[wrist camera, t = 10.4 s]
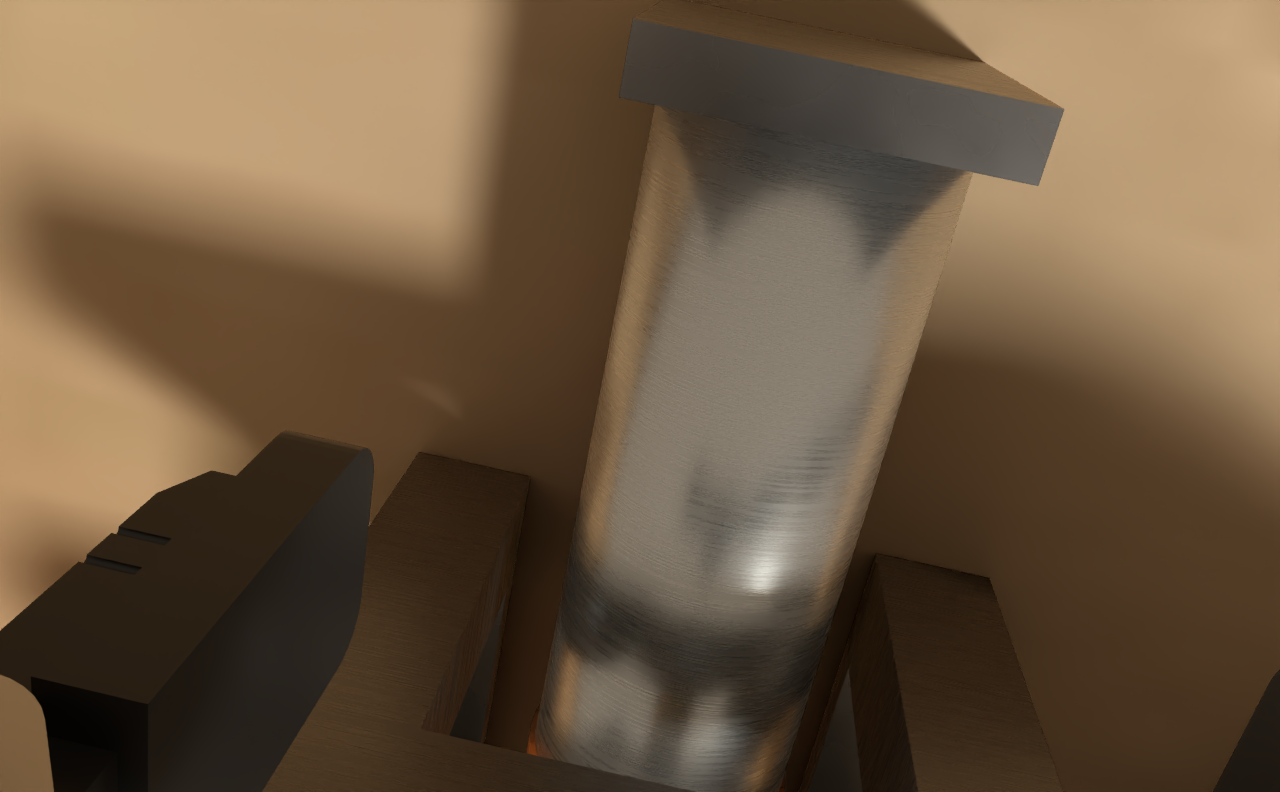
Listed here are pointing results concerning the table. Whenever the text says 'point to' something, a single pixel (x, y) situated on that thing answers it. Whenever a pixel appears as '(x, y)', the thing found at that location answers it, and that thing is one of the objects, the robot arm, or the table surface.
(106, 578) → the robot arm
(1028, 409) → the table surface
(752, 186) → the tube
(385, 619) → the hollow square frame
